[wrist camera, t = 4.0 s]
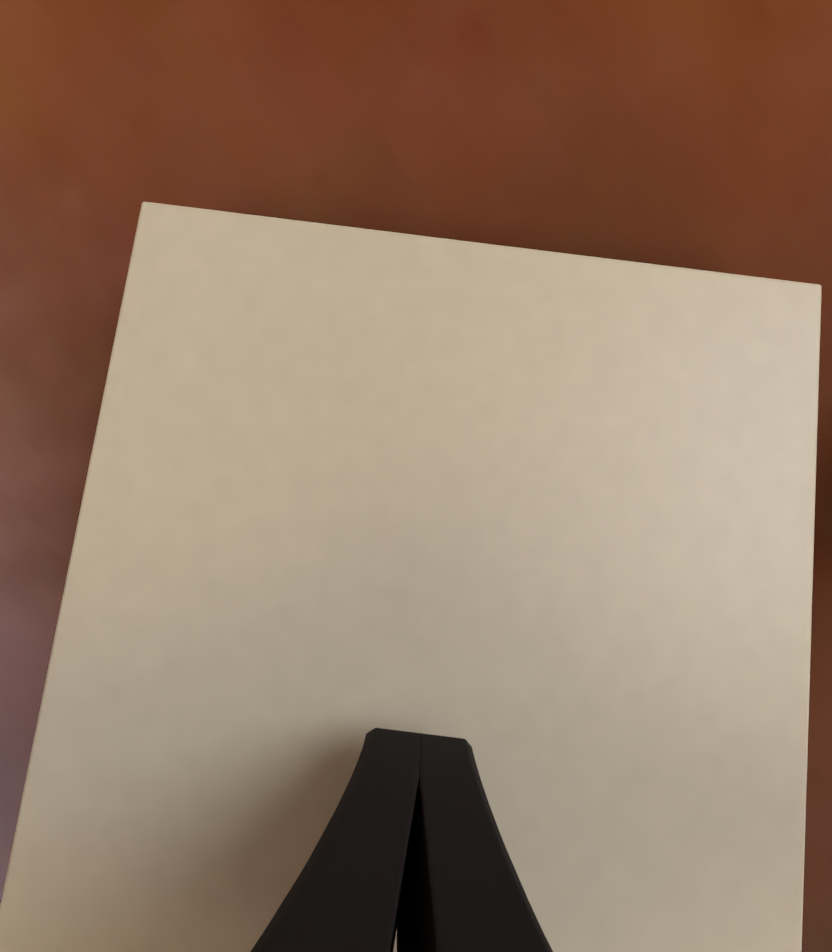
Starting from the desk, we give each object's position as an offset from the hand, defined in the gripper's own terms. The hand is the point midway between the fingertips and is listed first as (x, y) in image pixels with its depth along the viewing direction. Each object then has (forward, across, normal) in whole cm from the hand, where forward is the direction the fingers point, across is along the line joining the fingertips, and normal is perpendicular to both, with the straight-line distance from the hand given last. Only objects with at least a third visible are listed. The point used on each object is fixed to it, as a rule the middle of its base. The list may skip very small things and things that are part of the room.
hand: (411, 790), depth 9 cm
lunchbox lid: (+2, 0, -1) cm, 2 cm away
